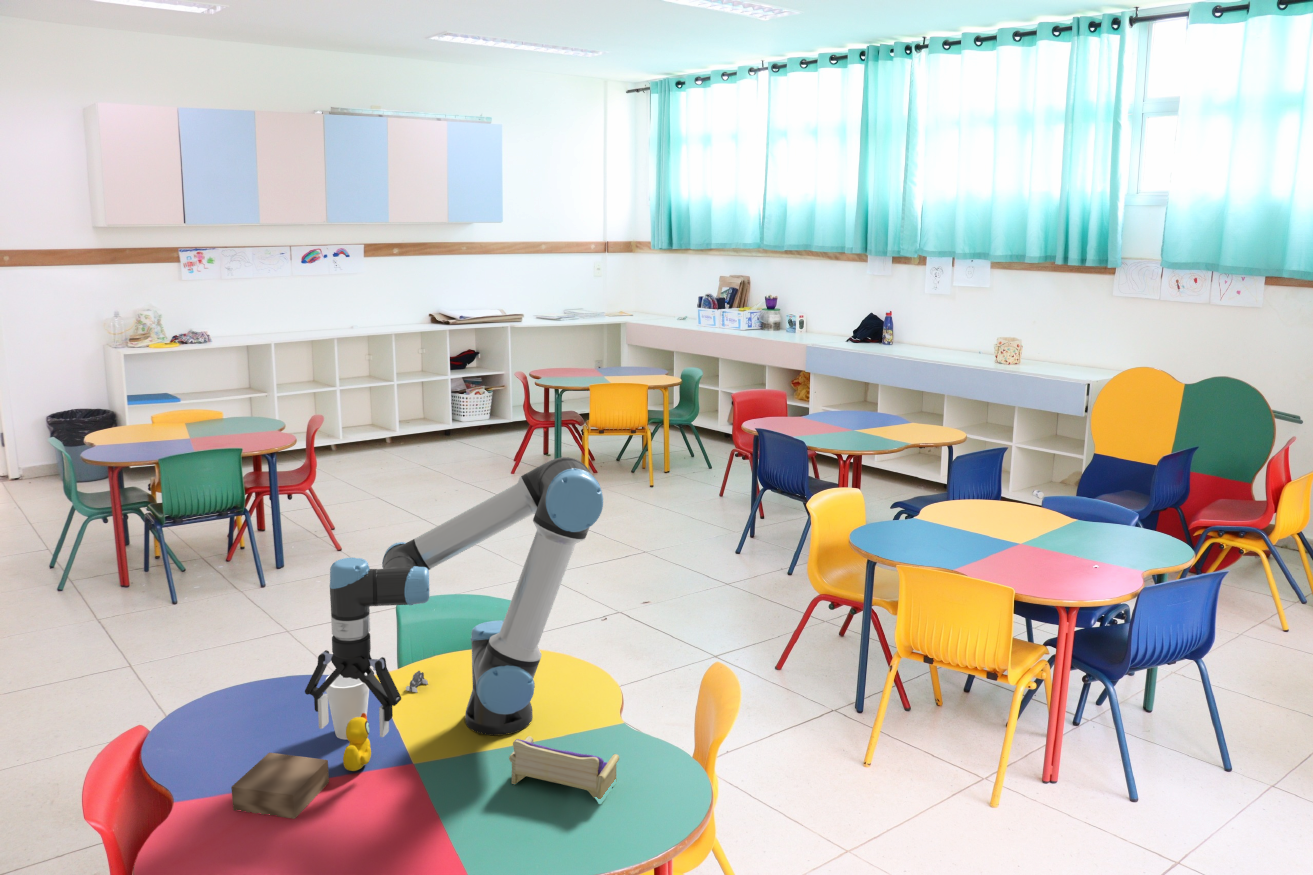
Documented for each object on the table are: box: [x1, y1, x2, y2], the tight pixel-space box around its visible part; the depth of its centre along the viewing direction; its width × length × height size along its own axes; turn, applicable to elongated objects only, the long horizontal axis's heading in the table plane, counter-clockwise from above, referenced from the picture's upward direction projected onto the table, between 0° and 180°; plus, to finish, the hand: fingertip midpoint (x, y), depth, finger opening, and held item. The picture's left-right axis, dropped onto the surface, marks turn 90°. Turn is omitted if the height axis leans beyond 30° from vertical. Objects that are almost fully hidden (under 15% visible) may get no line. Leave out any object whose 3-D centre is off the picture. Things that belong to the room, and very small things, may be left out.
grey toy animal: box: [405, 670, 429, 693], centre depth 252 cm, size 15×7×4 cm, turn 160°
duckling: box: [342, 713, 372, 772], centre depth 213 cm, size 11×5×10 cm, turn 179°
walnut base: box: [231, 752, 330, 820], centre depth 202 cm, size 13×13×5 cm
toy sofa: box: [508, 735, 620, 799], centre depth 207 cm, size 21×9×10 cm, turn 70°
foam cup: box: [325, 673, 370, 741], centre depth 225 cm, size 10×9×13 cm
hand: (353, 729), depth 212 cm, fingers open, 13 cm apart
